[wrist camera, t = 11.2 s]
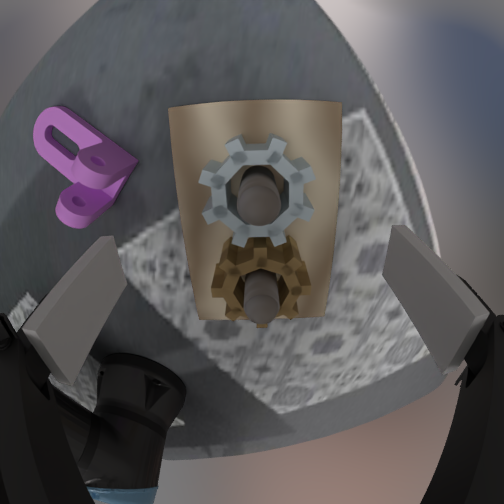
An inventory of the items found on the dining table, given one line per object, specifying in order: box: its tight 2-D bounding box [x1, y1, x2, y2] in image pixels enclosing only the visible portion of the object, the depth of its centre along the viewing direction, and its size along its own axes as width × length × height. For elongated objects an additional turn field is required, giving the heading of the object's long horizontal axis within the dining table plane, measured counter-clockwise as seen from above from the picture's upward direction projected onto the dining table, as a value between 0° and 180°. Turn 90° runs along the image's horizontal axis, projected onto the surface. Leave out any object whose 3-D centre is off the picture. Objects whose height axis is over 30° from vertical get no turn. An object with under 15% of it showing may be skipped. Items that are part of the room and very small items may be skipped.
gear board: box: [168, 100, 342, 328], centre depth 22 cm, size 14×22×9 cm, turn 2°
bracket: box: [33, 106, 139, 228], centre depth 19 cm, size 13×6×7 cm, turn 50°
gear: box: [198, 133, 316, 248], centre depth 21 cm, size 8×8×4 cm
